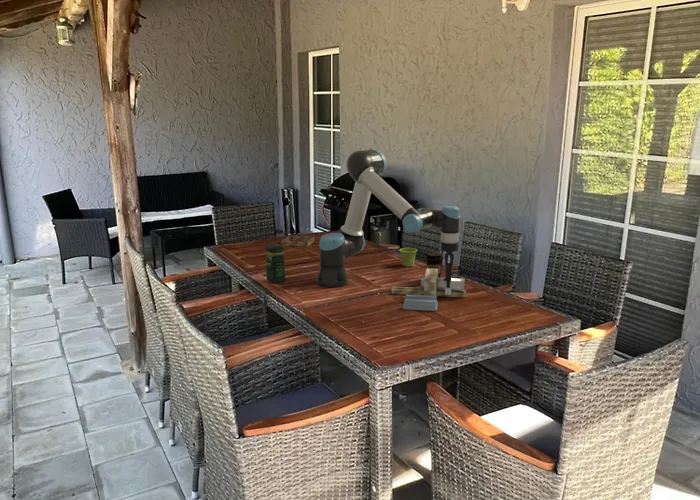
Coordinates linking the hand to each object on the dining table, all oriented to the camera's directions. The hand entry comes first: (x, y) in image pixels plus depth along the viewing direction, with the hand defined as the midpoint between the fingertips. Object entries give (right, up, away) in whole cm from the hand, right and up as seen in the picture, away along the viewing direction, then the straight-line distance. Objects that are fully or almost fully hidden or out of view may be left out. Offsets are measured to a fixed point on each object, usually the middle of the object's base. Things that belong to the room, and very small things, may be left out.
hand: (448, 292), depth 250 cm
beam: (-7, -1, +2) cm, 8 cm away
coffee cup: (-3, +4, +24) cm, 24 cm away
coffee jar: (-80, +3, +24) cm, 84 cm away
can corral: (-77, +23, +104) cm, 131 cm away
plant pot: (-13, +10, +50) cm, 53 cm away
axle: (-2, +3, 0) cm, 4 cm away
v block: (-14, -5, -14) cm, 20 cm away
